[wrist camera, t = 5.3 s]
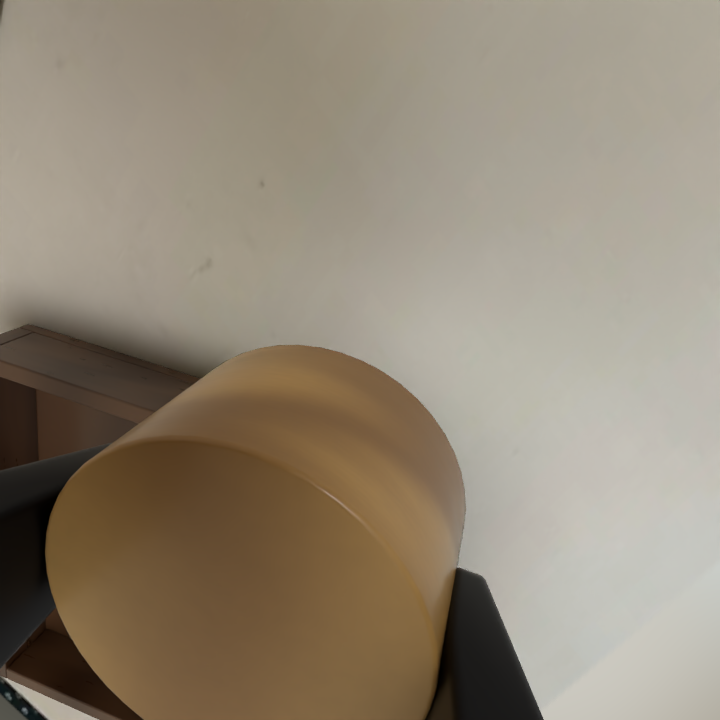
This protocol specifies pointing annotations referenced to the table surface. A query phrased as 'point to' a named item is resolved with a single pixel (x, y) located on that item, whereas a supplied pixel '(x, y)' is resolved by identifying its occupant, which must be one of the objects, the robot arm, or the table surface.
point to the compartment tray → (62, 436)
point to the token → (266, 547)
